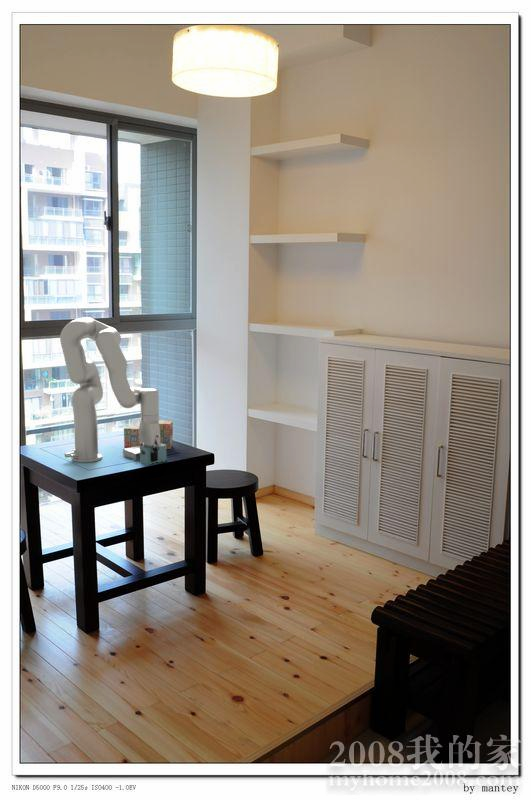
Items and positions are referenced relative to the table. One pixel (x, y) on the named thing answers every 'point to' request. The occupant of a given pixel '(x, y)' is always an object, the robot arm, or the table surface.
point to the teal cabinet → (146, 454)
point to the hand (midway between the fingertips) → (150, 459)
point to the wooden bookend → (132, 452)
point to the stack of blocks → (165, 435)
